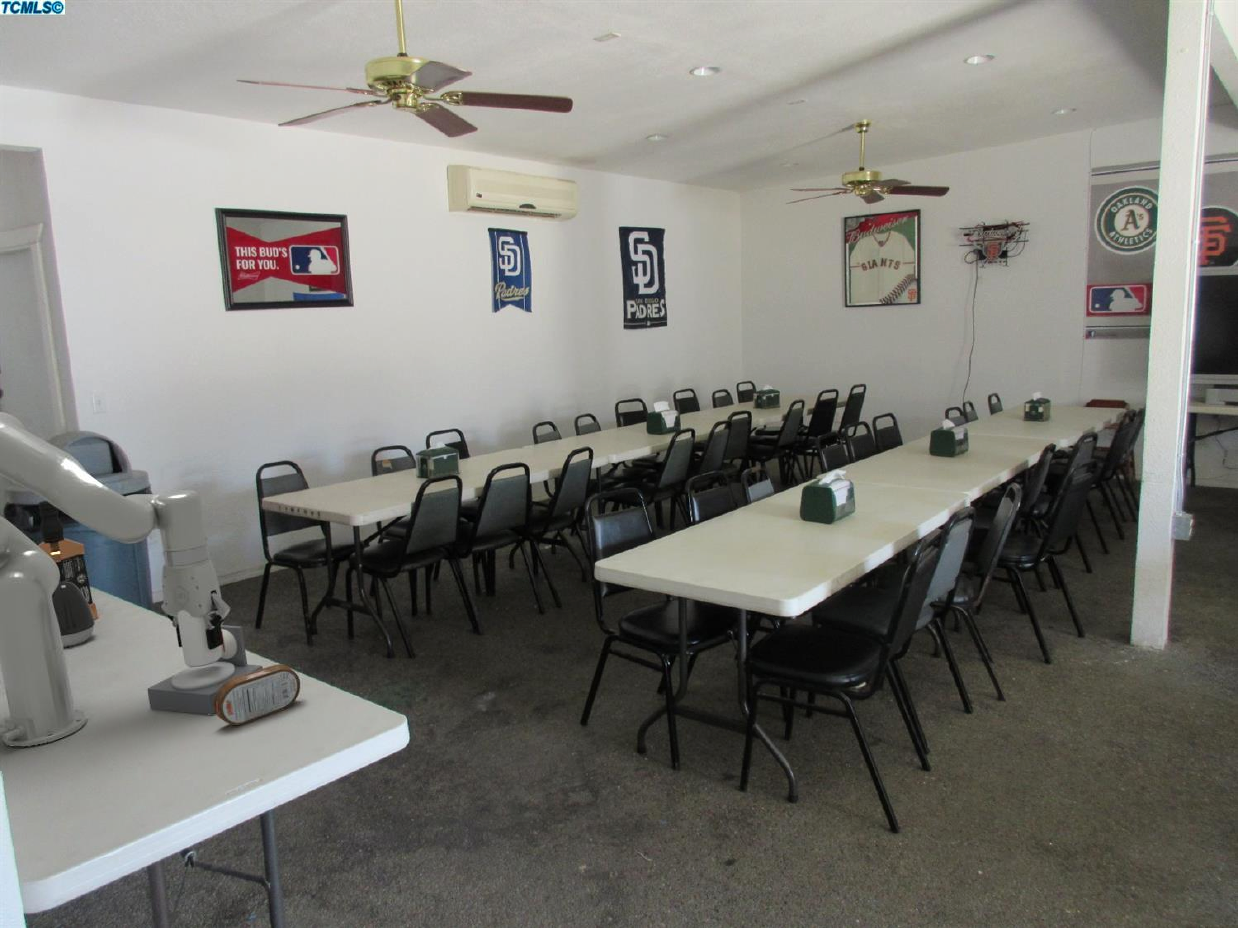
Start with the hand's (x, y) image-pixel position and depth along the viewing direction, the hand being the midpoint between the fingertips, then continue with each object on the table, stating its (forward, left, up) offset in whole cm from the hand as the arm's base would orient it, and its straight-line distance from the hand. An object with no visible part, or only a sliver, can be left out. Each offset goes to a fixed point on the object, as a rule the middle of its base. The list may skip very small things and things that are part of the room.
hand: (201, 645), depth 165 cm
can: (0, 0, -3) cm, 3 cm away
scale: (0, 0, -10) cm, 10 cm away
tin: (-5, -17, -11) cm, 21 cm away
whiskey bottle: (+29, +75, -11) cm, 81 cm away
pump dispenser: (+18, +60, -11) cm, 63 cm away
